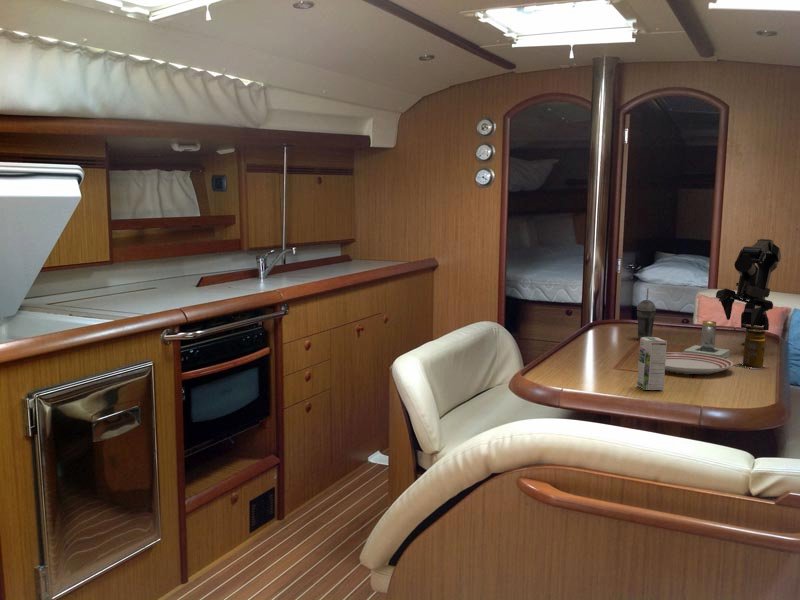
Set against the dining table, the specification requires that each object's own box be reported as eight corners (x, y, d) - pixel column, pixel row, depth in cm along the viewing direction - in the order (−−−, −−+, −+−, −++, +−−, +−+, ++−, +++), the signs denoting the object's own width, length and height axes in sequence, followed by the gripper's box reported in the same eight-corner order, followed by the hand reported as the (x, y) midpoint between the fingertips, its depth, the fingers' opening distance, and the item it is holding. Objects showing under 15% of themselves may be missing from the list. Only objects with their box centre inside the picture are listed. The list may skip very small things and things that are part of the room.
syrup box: (636, 386, 212) (639, 336, 210) (655, 386, 213) (659, 336, 211) (644, 391, 207) (647, 340, 205) (664, 391, 207) (667, 340, 205)
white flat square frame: (694, 350, 265) (695, 345, 265) (729, 355, 257) (730, 349, 257) (683, 355, 256) (683, 350, 255) (719, 361, 248) (720, 355, 248)
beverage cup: (633, 341, 281) (636, 289, 279) (635, 337, 288) (638, 287, 285) (653, 342, 279) (657, 290, 276) (655, 339, 285) (658, 288, 283)
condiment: (768, 367, 241) (771, 330, 239) (753, 370, 236) (757, 333, 234) (747, 362, 247) (750, 327, 245) (732, 365, 242) (735, 329, 240)
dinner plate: (623, 363, 244) (623, 353, 243) (686, 357, 255) (687, 347, 254) (685, 382, 219) (686, 371, 218) (752, 375, 230) (753, 364, 229)
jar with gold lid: (699, 353, 259) (702, 320, 258) (713, 354, 258) (715, 321, 256) (700, 356, 255) (702, 322, 254) (714, 357, 254) (716, 323, 252)
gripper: (736, 270, 253) (729, 313, 250) (786, 284, 254) (779, 327, 252) (718, 275, 264) (711, 317, 261) (766, 288, 265) (759, 330, 263)
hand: (740, 323), depth 259 cm, fingers open, 9 cm apart
